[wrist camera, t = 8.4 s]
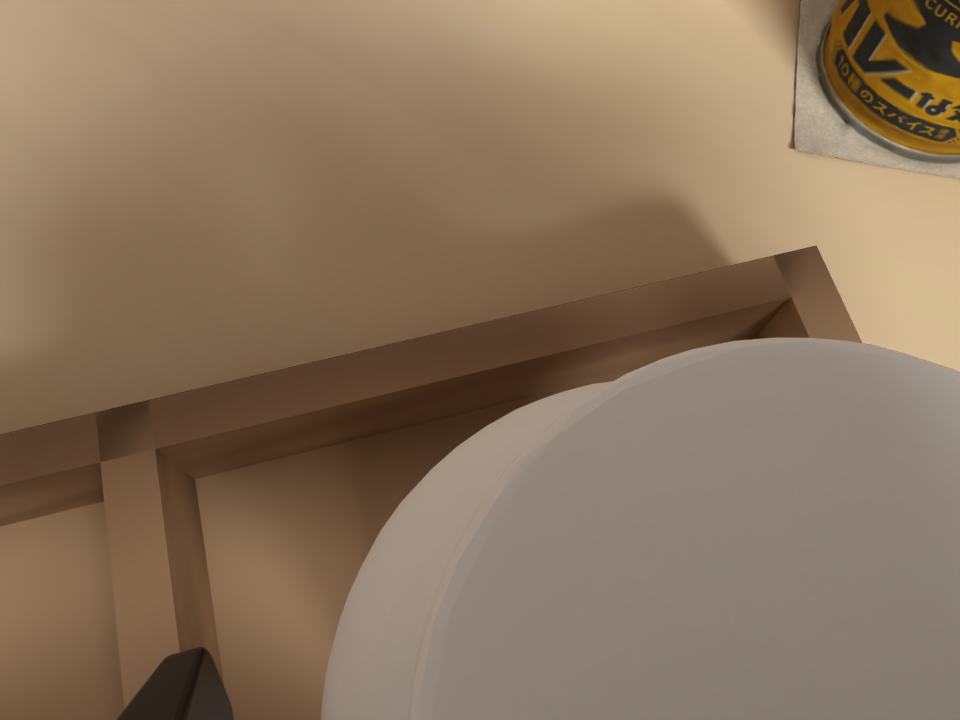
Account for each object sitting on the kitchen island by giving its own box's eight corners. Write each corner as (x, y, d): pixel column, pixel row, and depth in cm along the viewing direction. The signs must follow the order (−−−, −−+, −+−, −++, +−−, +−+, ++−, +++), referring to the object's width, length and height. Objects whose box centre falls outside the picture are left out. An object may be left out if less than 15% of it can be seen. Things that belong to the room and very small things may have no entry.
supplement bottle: (716, 922, 15) (1866, 2048, 3) (361, 855, 15) (-40, 1608, 3) (734, 555, 17) (1384, 282, 5) (429, 501, 17) (361, 123, 5)
